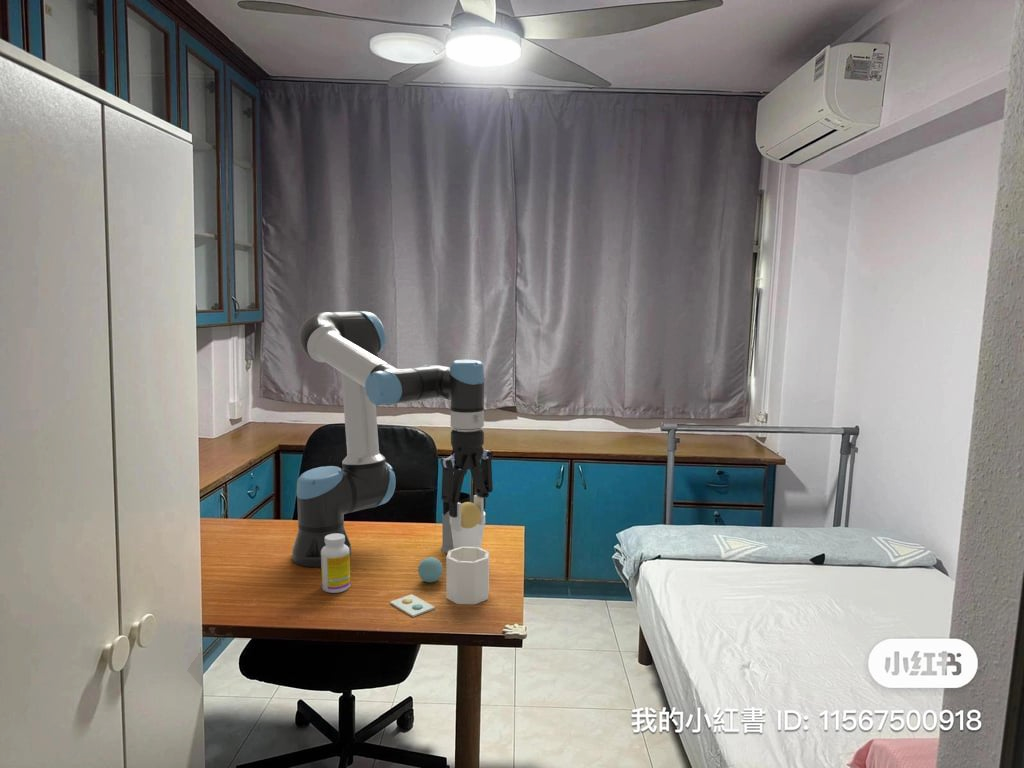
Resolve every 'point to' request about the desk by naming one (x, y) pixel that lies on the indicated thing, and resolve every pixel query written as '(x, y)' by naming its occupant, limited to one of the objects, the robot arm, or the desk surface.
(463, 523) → the ball ochre
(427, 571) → the ball teal
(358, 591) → the desk surface
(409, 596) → the card
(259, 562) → the desk surface
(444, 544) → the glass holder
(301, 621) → the desk surface
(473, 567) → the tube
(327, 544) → the supplement bottle
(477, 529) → the foam cup
